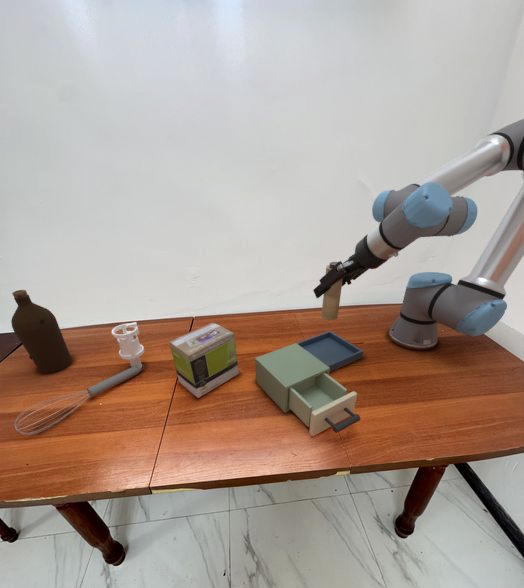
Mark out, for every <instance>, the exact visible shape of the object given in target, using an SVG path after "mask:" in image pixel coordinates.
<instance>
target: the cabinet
mask: <svg viewBox="0 0 524 588" xmlns="http://www.w3.org/2000/svg"><path fill="white" fill-rule="evenodd" d="M297 343H298V342H295V343H293V344H289V345H287V346H284V347H281V348H278V349H275V350H273V351H270V352H268V353H265V354H262V355H259V356H257V357H254V366H255V367H254V369H255V370H254V371H255V383H256V384H257V385H258V386H259V387H260V389H261V390H263V392H265V393H266V395H267V396H268V397H269V398H270V399H271V400H272V401H273V402H274V403H275V404H276V405H277V406H278V407H279V409H281V411H282V412H283V413H287V412H290V411H292V410H291V409H290V408H289V407H288V388H291V387H293V386H295V385H297V384H300V383H302V382H304V381H307V380H309V379H311V378H313V377H316V376H318V375H320V374H322V373H326V374H328V375H329V376H330V373H331V372H330V368H329V367H328V366H327V365H325V364H324V363H323V362H321V361H320V360H319V359H317V358H316V357H314V356H313V355H312V354H310V353H309V352H308V351H306V350H305V349H304V348H302V347H301V346H300V345H298V344H297Z"/></svg>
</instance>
